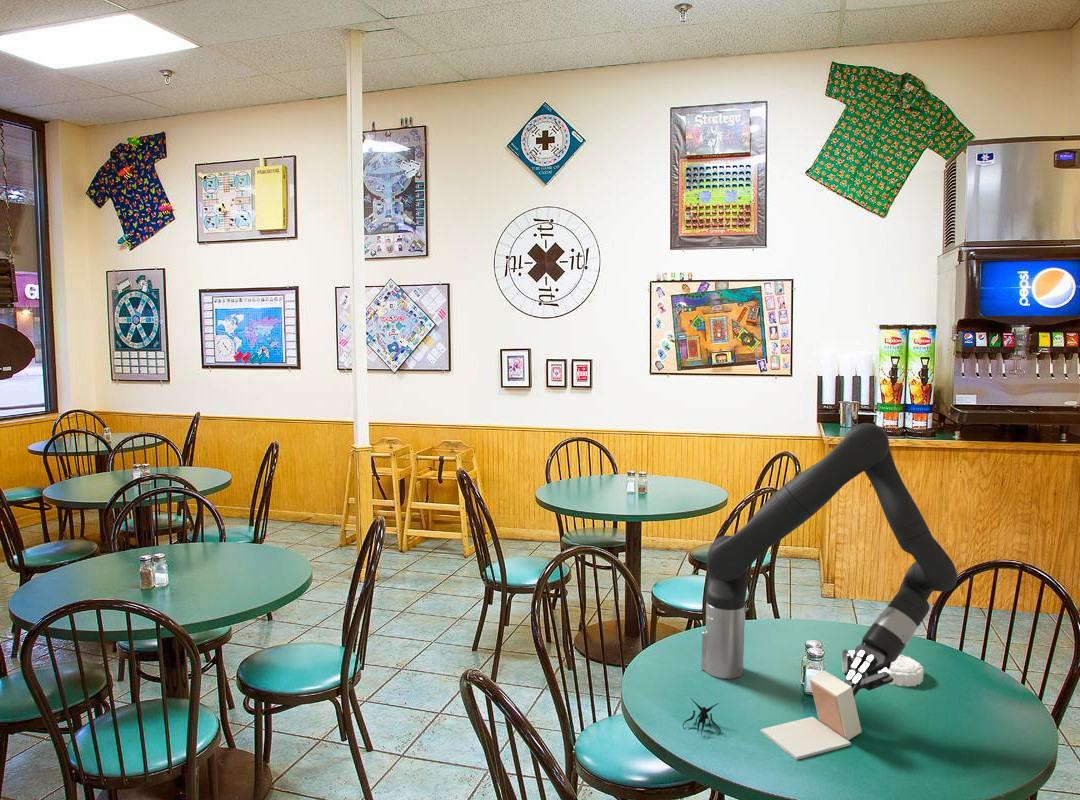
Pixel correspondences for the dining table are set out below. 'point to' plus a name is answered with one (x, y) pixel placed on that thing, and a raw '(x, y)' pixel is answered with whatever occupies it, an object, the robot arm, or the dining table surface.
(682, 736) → the dining table surface
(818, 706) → the cream rectangular block
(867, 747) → the dining table surface
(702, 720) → the creature
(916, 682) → the mooncake
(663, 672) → the dining table surface
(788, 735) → the mat
